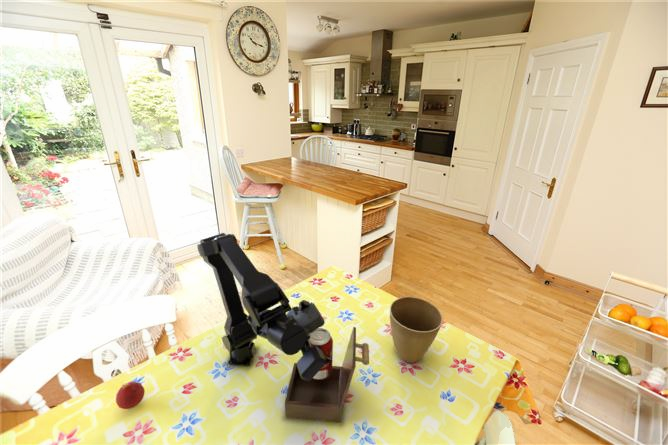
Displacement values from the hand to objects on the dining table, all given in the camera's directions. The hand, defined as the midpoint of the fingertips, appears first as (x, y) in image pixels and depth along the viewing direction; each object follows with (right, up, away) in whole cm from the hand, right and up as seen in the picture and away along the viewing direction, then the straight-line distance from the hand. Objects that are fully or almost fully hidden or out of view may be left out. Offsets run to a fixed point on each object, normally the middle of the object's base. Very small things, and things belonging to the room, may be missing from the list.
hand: (324, 350), depth 74 cm
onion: (-49, -14, 0) cm, 51 cm away
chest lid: (+6, -2, -3) cm, 7 cm away
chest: (-2, -14, +3) cm, 14 cm away
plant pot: (+26, -8, +16) cm, 32 cm away
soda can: (-1, -6, +2) cm, 7 cm away
